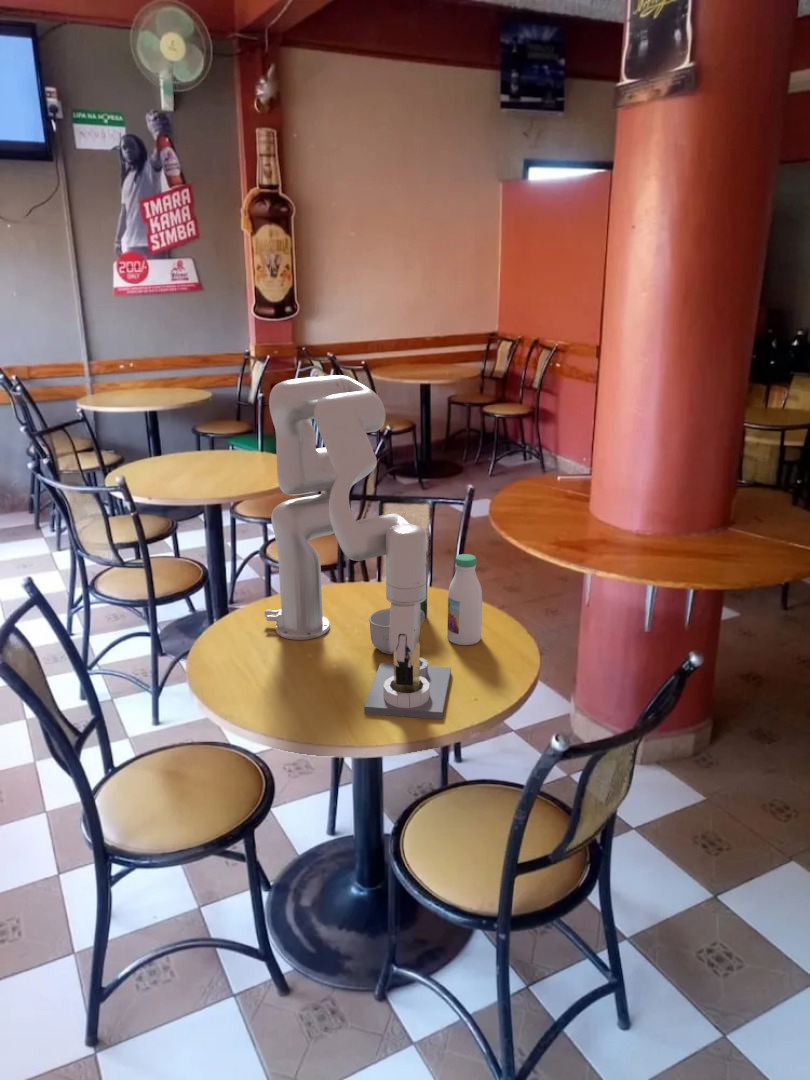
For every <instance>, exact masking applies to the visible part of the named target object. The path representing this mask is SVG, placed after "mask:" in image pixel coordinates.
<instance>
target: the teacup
mask: <svg viewBox="0 0 810 1080" xmlns="http://www.w3.org/2000/svg"><path fill="white" fill-rule="evenodd" d="M425 620H426V619H425V614H424V612H423V611H422V610H421V618H420V627H421V626H422V625H423V624H424V621H425ZM368 621H369V631H370V640H371V642H372V644H373V647H375V649H377V650H379V651H380V652H382V653H383V654H386V655H394V652H392V653H391V652H390V651H389V623H390V608H383V609H382V608H381V609H379V610H376V611H374V612H373V613H371V614H370V615H369V616H368Z"/></svg>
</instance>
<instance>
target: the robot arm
mask: <svg viewBox="0 0 810 1080" xmlns="http://www.w3.org/2000/svg"><path fill="white" fill-rule="evenodd" d="M384 405H385V404H383V401H382V400H381V398H380V397H379V395H378V394H377V393H376V392H375V391H374V390H373V389H371V388H370V387H367V386H366V385H364V384H363V383H361V382H359V381H357V380H355V379H353V378H351V377H349V376H347V375H342V374H340V375H338V374H336V375H333V374H332V375H325V376H313V377H312V376H310V377H301V378H300V377H299V378H293V379H287V380H283V381H281V382H279V383H277V384H275V385H274V386H273V387H272V389H271V391H270V393H269V401H268V407H269V413H270V416H271V421H272V423H273V424H272V425H273V426H274V429H275V431H274V432H275V439H276V443H275V444H276V446H275V449H276V475H277V477H276V478H277V483H278V487H279V489H280V491H282V493H283V494H285V495H287V496H302V495H306V494H312V493H319V492H320V494H315V495H309V496H304V497H296V498H291V499H288V500H284V501H282V502H280V503H279V504H277V505H276V506H275V507H274V508H273V510H272V513H271V517H270V519H271V525H272V530H273V534H274V539H275V543H276V548H277V558H278V559H277V560H278V561H277V563H278V576H279V592H280V607H281V608H278V610H277V609H270V608H269V609H267V608H266V609H265V610H264V617H265V618H266V621H267V622H276V624H275V632H276V633H277V635H279V636H280V637H282V638H284V639H289V640H296V641H304V640H311V639H316V638H318V637H321V636H323V635H325V634H326V633H328V631H329V630H330V621H329V620H328V618H327V617H325V616H323V615H324V613H323V596H322V595H323V594H322V568H321V566H322V565H321V557H320V553H319V552H318V551H317V549H315V548H314V546H312V544H311V542H310V541H311V540H313V539H317V538H320V537H325V536H330V535H333V534H334V535H335V539H336V541H337V543H338V545H339V548H340V550H341V551H342V553H343V554H344V555H345V557H347V558H348V559H350V560H352V561H356V562H357V561H359V562H361V561H365V560H369V559H373V558H377V557H381V556H384V555H385V584H386V585H385V587H386V588H385V589H386V591H385V593H386V595H385V596H386V600H387V601H388V602H389V603H390V623H389V651H390V652H391V653H392V652H395V650H396V648H397V661H396V684H398V685H412V684H413V665H411V663H412V653H413V652H414V651H415V648H416V645H417V642H418V641H419V638H420V632H421V631H420V630H421V626H420V618H421V604H420V603H421V602H423V601H425V600H426V567H427V568H428V566H427V556H428V550H427V545H428V544H427V543H428V542H427V540H428V539H427V533H426V531H425V529H424V528H423V527H422V526H421V525H418V524H412V523H411V522H410V520H408V518H407V517H405V516H404V515H402V514H401V513H396V512H393V513H386V514H381V515H376V516H371V517H365V518H361V519H358V520H356V519H355V517H354V515H353V512H352V509H351V505H350V491H351V489H352V487H353V486H354V485H356V483H358V482H360V481H362V480H363V479H364V478H366V477H367V476H368V475H369V474H370V473H372V472H374V469H375V468H376V467H377V463H378V461H377V456H376V454H375V452H374V449H373V447H372V444H371V442H370V438H369V437H368V433H373V432H378V431H380V430H381V429H382V428H383V427H384V425H385V422H386V409H385V406H384ZM313 419H314V422H315V423H316V427H317V429H318V432H319V434H320V437H321V439H322V442H323V445H324V447H318V448H317V447H316V446H317V445H316V443H317V439H316V437H317V435H316V430H315V428H314V426H313V424H312V423H311V421H310V420H313ZM406 648H409V650H406ZM405 654H408V659H407V658H406V657H405Z"/></svg>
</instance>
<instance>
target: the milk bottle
mask: <svg viewBox="0 0 810 1080" xmlns="http://www.w3.org/2000/svg"><path fill="white" fill-rule="evenodd" d="M455 568H456V571H455V574H454V576H453V578H452V580H451V582H450V584H449V588H448V597H447V629H446V630H447V640H448V641H450V642H451V643H452V644H454V645H459V646H471V645H472V646H473V645H475V644H478V643H479V642H480V641H481V639H482V624H483V623H482V621H483V619H482V618H483V592H482V591H483V590H482V586H481V583H480V581H479V578H478V576H477V573H476V568H477V557H476V555H474V554H470V553H469V554H468V553H462V554H458V555H456V556H455Z"/></svg>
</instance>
